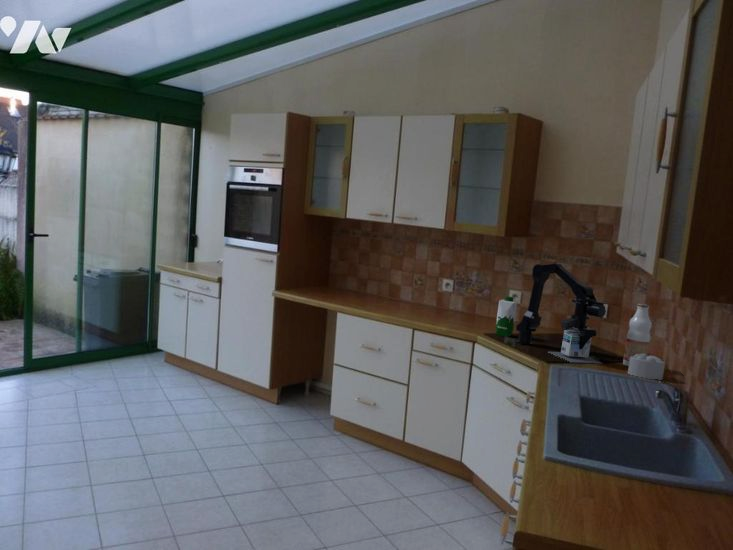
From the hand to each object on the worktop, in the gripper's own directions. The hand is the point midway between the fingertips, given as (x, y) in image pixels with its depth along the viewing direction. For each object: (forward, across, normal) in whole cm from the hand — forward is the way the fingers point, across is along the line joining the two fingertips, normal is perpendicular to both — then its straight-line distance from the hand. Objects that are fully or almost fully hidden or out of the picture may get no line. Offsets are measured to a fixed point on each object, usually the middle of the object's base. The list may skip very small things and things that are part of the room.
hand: (575, 347), depth 276 cm
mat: (+5, 0, 0) cm, 5 cm away
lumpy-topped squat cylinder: (+5, +27, +15) cm, 31 cm away
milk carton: (+5, -46, -11) cm, 47 cm away
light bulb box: (+4, 0, 0) cm, 4 cm away
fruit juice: (+5, +10, +24) cm, 27 cm away
